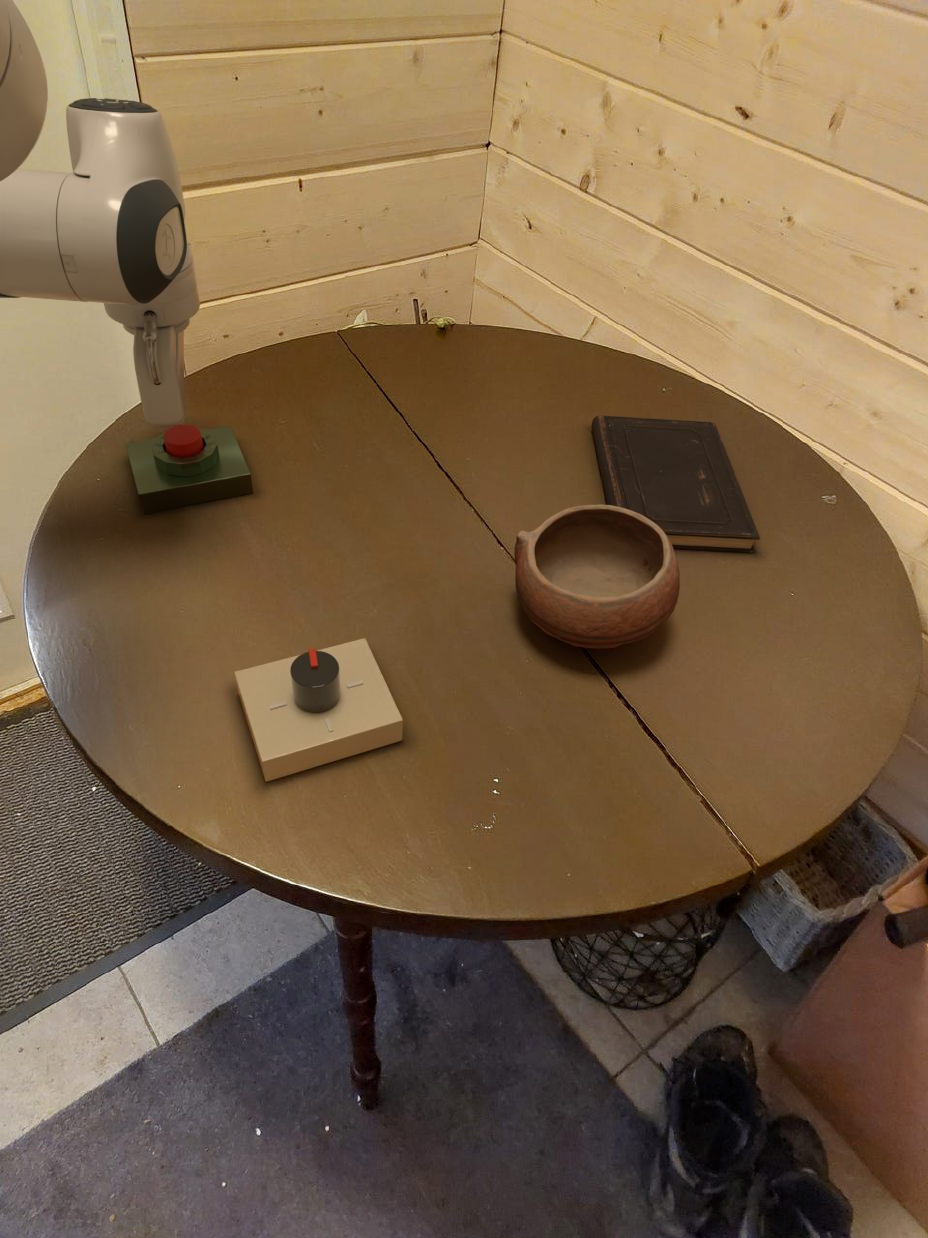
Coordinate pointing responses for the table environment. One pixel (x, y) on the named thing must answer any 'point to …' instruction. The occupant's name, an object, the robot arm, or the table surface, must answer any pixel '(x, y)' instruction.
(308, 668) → the hob knob
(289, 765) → the hob panel
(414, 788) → the table surface
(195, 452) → the red push button
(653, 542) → the bowl
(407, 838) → the table surface
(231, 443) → the button box
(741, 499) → the old dark book
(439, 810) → the table surface
